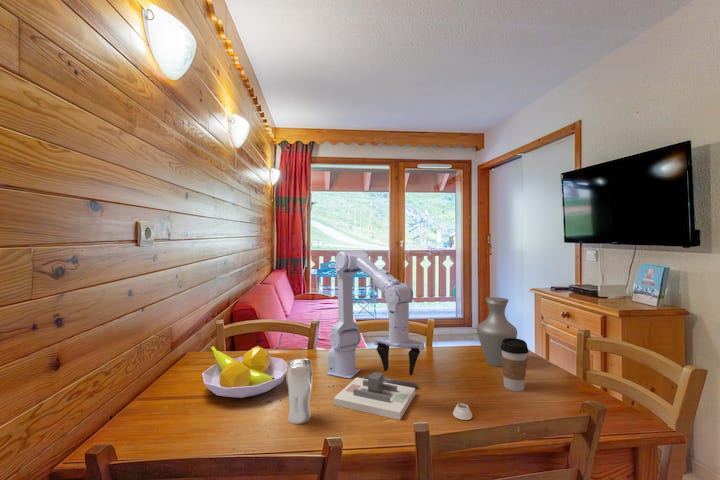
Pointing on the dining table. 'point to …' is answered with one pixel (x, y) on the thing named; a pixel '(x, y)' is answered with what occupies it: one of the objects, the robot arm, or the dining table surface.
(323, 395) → the dining table surface
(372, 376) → the switch knob
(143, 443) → the dining table surface
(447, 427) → the dining table surface
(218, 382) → the fruit bowl
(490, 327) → the vase
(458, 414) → the lidless jar
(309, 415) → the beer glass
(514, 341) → the coffee cup
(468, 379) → the dining table surface
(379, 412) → the white board with rails
